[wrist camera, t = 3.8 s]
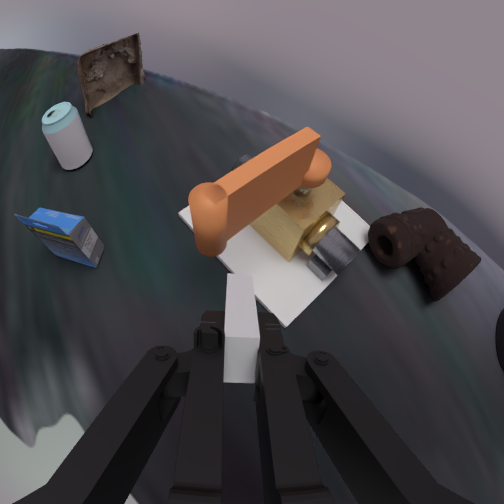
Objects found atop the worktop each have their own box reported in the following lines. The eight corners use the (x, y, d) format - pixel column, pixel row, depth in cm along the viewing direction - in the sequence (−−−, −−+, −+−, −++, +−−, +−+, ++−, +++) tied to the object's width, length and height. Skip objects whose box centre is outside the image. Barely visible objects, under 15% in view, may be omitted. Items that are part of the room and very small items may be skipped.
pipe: (380, 203, 36) (449, 293, 29) (433, 183, 41) (490, 252, 34) (354, 245, 44) (409, 323, 37) (408, 219, 49) (456, 282, 42)
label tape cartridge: (106, 245, 40) (73, 197, 29) (97, 269, 38) (58, 226, 27) (63, 234, 40) (26, 189, 29) (53, 255, 38) (12, 214, 27)
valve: (354, 257, 41) (390, 215, 31) (320, 293, 38) (353, 258, 28) (259, 171, 46) (268, 117, 36) (221, 197, 44) (221, 141, 33)
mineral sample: (91, 119, 52) (72, 63, 38) (83, 114, 53) (65, 60, 39) (149, 82, 58) (141, 28, 45) (139, 78, 59) (131, 27, 45)
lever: (305, 152, 33) (319, 107, 27) (333, 175, 32) (354, 131, 25) (184, 235, 27) (174, 189, 21) (215, 269, 26) (212, 229, 19)
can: (62, 177, 45) (36, 132, 34) (61, 153, 47) (40, 110, 36) (95, 163, 46) (74, 114, 35) (92, 140, 49) (74, 94, 38)
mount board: (374, 235, 44) (376, 232, 43) (284, 328, 37) (286, 326, 36) (277, 151, 50) (278, 148, 49) (179, 216, 43) (178, 212, 42)
